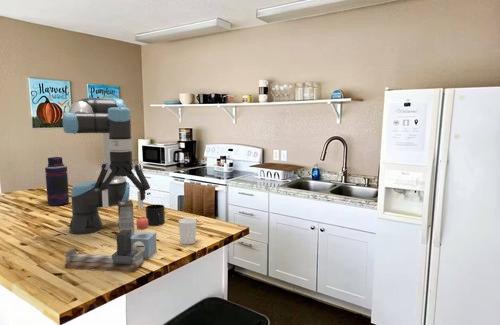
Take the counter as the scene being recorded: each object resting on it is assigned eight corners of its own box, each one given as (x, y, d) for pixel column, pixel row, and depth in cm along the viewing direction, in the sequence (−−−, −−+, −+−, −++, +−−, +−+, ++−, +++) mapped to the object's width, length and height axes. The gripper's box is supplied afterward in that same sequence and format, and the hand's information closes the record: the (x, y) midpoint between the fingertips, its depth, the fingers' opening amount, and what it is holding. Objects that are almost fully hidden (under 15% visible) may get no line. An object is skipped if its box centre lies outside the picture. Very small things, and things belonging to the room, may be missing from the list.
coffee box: (119, 233, 165) (117, 200, 163) (133, 231, 168) (131, 199, 165) (119, 239, 157) (118, 205, 155) (134, 237, 159) (133, 204, 157)
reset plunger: (135, 229, 137) (134, 221, 137) (139, 226, 142) (139, 217, 141) (145, 230, 137) (145, 221, 136) (149, 226, 141) (149, 218, 141)
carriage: (111, 264, 126) (110, 234, 125) (119, 257, 132) (118, 229, 131) (130, 265, 125) (128, 235, 124) (137, 258, 131) (136, 229, 130)
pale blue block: (129, 258, 136) (128, 239, 135) (138, 250, 145) (137, 231, 144) (148, 259, 136) (147, 240, 135) (156, 251, 144) (156, 232, 143)
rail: (63, 267, 128) (62, 253, 127) (76, 259, 135) (76, 245, 135) (135, 272, 124) (135, 257, 124) (144, 263, 132) (144, 249, 132)
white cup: (180, 239, 158) (179, 218, 157) (197, 238, 159) (197, 217, 158) (178, 245, 151) (177, 223, 149) (196, 245, 151) (195, 223, 150)
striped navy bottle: (73, 203, 219) (70, 157, 215) (54, 207, 209) (50, 159, 205) (61, 200, 227) (58, 155, 223) (42, 204, 217) (38, 157, 213)
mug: (150, 228, 173) (149, 211, 171) (144, 222, 183) (143, 205, 182) (168, 225, 177) (168, 208, 176) (161, 219, 188) (161, 203, 186)
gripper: (82, 151, 121) (85, 209, 124) (149, 152, 118) (151, 212, 121) (94, 149, 129) (96, 204, 131) (158, 150, 126) (159, 206, 129)
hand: (123, 208), depth 126 cm, fingers open, 13 cm apart
